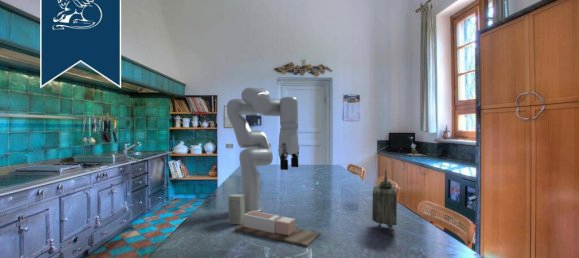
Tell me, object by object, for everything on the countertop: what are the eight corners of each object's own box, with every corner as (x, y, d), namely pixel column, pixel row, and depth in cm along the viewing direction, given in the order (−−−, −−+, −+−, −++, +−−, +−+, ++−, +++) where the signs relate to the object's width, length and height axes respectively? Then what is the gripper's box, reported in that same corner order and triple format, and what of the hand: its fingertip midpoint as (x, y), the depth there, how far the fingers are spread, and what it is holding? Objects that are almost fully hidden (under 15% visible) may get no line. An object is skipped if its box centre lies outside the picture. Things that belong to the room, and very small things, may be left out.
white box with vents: (243, 226, 112) (243, 214, 112) (252, 222, 117) (252, 210, 117) (274, 233, 105) (274, 220, 105) (281, 228, 110) (281, 215, 110)
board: (235, 229, 110) (235, 227, 110) (252, 220, 121) (252, 219, 121) (307, 247, 95) (307, 244, 95) (319, 235, 106) (319, 233, 106)
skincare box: (245, 221, 120) (245, 194, 120) (240, 225, 116) (240, 196, 116) (232, 220, 122) (233, 193, 122) (227, 223, 118) (227, 195, 118)
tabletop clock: (396, 237, 104) (397, 173, 104) (372, 234, 107) (372, 171, 107) (395, 225, 117) (396, 168, 117) (373, 222, 121) (374, 167, 120)
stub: (275, 232, 105) (275, 220, 105) (282, 227, 110) (282, 216, 110) (288, 235, 102) (288, 223, 102) (295, 230, 107) (295, 218, 107)
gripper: (290, 127, 120) (290, 165, 120) (270, 126, 105) (271, 170, 105) (305, 127, 117) (306, 166, 117) (287, 126, 102) (288, 171, 101)
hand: (289, 168), depth 111 cm, fingers open, 9 cm apart
